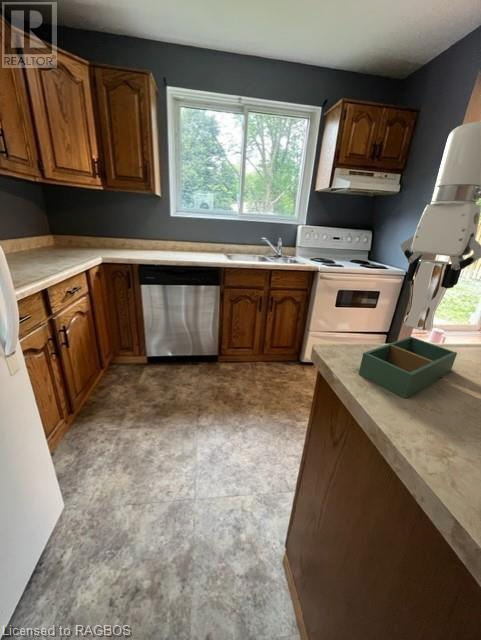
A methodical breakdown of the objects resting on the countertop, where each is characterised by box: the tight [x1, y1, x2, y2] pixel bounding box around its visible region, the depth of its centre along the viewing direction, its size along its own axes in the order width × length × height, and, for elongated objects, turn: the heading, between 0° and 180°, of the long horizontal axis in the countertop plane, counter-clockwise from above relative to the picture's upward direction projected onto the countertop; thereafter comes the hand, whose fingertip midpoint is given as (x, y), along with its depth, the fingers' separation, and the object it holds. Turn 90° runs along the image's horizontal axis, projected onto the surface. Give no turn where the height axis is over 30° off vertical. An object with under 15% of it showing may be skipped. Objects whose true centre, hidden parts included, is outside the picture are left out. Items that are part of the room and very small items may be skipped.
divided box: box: [358, 336, 458, 400], centre depth 69 cm, size 22×12×6 cm, turn 122°
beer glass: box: [402, 259, 452, 331], centre depth 62 cm, size 7×7×15 cm
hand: (429, 283), depth 61 cm, fingers closed on beer glass, 7 cm apart
